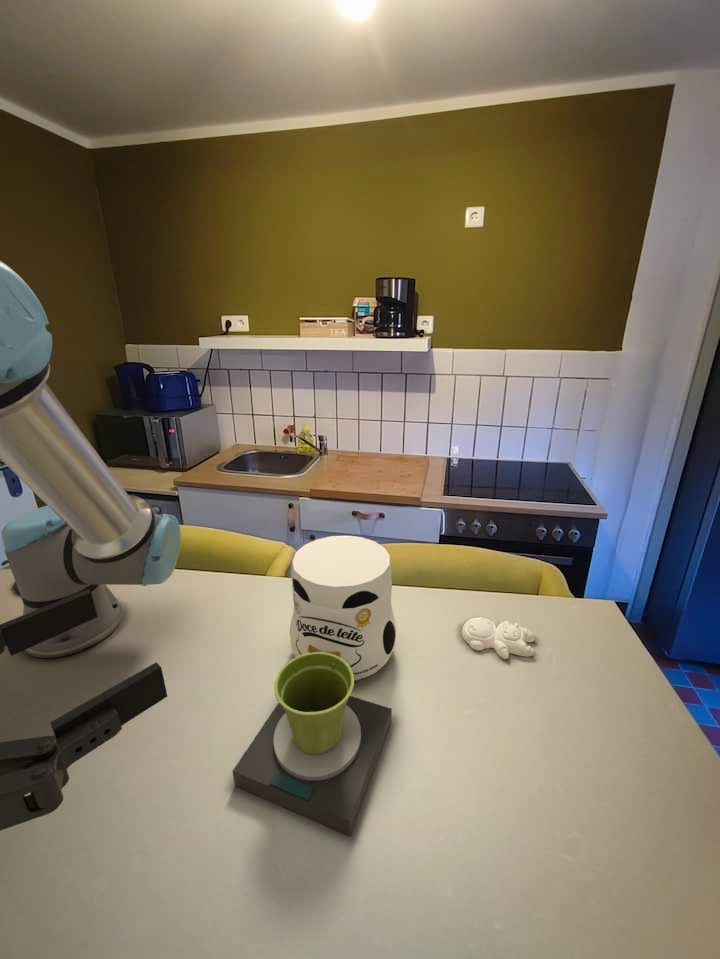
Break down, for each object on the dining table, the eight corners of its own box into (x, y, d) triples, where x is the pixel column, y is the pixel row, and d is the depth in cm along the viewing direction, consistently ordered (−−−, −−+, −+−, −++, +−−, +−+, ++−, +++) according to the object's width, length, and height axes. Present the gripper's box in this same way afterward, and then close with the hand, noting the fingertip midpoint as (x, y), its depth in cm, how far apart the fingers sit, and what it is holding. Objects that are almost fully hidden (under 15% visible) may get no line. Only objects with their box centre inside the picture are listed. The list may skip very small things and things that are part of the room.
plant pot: (345, 777, 49) (343, 720, 46) (267, 761, 51) (261, 706, 48) (361, 708, 57) (361, 657, 54) (294, 697, 59) (290, 647, 56)
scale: (234, 785, 51) (231, 766, 50) (296, 690, 64) (294, 673, 63) (350, 836, 46) (349, 816, 45) (391, 722, 59) (392, 704, 58)
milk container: (302, 707, 62) (295, 602, 55) (284, 629, 77) (276, 541, 71) (412, 677, 67) (417, 578, 60) (374, 610, 82) (375, 526, 76)
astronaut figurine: (530, 669, 68) (532, 653, 67) (456, 644, 73) (457, 629, 72) (537, 635, 75) (539, 621, 74) (469, 615, 81) (470, 601, 80)
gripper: (-268, 761, 29) (81, 611, 44) (-392, 1257, 14) (210, 766, 29) (-330, 675, 26) (63, 547, 41) (-571, 1168, 11) (195, 679, 26)
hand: (124, 636), depth 35 cm, fingers open, 13 cm apart
